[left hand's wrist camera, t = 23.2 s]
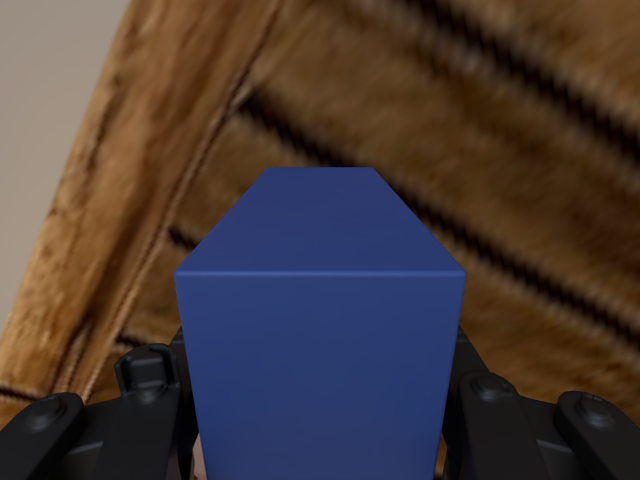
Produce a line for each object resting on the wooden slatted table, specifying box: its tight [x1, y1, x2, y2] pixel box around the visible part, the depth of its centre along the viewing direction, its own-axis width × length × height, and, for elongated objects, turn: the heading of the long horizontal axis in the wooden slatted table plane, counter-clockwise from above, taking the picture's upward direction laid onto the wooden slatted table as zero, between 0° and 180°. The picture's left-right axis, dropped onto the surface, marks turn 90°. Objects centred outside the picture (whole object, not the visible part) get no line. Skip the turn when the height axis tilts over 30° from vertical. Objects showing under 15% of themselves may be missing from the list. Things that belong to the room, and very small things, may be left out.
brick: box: [174, 167, 466, 480], centre depth 12 cm, size 9×5×11 cm, turn 0°
